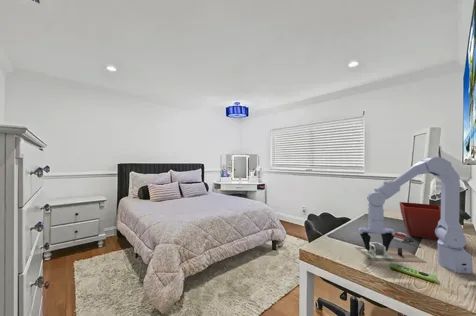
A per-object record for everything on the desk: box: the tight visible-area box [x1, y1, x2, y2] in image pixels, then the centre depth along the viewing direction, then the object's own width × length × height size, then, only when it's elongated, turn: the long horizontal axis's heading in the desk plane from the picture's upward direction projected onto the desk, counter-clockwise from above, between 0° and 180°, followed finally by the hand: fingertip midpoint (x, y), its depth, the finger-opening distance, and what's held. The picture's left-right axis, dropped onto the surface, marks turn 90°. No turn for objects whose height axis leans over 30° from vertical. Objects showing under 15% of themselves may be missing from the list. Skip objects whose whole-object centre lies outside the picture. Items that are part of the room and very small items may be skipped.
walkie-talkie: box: [392, 231, 422, 249], centre depth 112 cm, size 9×4×20 cm
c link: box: [367, 241, 386, 256], centre depth 94 cm, size 5×5×4 cm
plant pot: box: [399, 201, 441, 241], centre depth 123 cm, size 19×19×17 cm
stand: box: [354, 246, 428, 264], centre depth 94 cm, size 14×22×4 cm, turn 86°
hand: (376, 249), depth 94 cm, fingers open, 7 cm apart
